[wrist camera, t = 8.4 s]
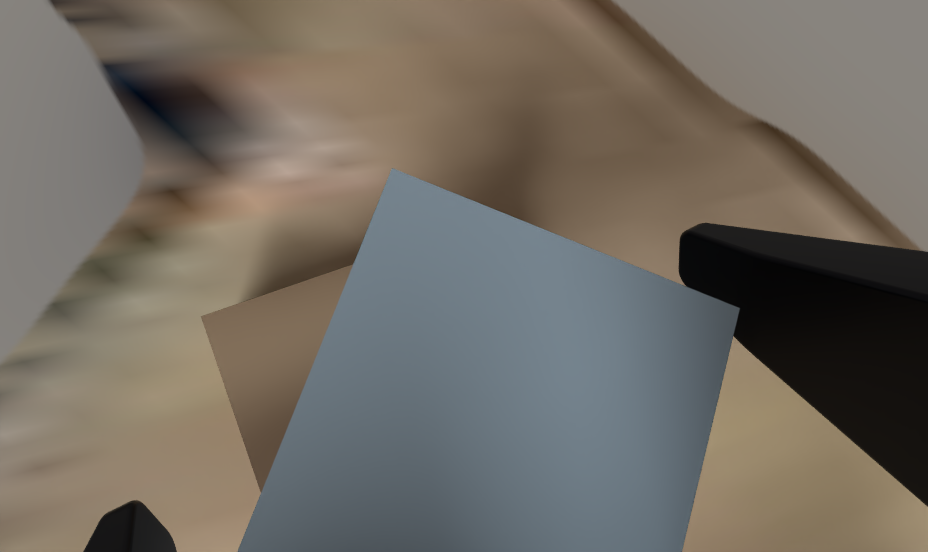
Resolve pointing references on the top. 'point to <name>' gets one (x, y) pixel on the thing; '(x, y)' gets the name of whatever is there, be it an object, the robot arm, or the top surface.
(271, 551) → the pillar
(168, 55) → the top surface
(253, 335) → the base block
